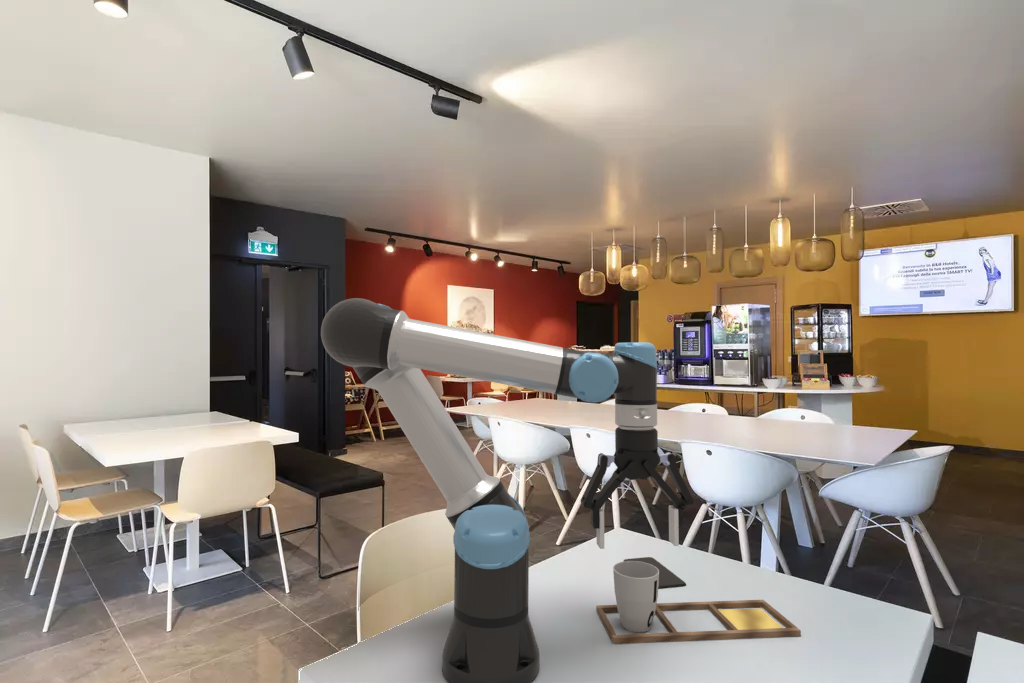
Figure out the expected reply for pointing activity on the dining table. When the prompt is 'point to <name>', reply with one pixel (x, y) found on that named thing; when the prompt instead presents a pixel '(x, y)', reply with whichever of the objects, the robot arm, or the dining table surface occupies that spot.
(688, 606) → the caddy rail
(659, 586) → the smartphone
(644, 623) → the cup
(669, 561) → the dining table surface
